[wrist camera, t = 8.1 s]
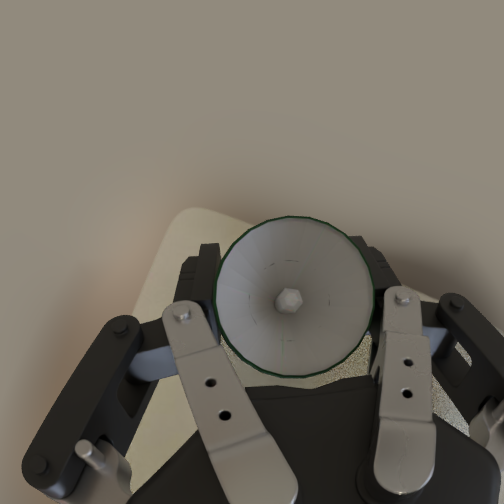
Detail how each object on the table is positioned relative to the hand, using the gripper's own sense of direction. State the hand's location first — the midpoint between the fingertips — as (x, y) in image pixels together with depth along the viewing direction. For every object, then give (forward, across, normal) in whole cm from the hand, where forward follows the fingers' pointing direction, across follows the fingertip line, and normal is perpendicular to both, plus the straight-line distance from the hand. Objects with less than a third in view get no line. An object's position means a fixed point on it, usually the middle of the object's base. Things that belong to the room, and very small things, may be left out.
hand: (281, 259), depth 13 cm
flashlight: (+10, 0, +13) cm, 17 cm away
